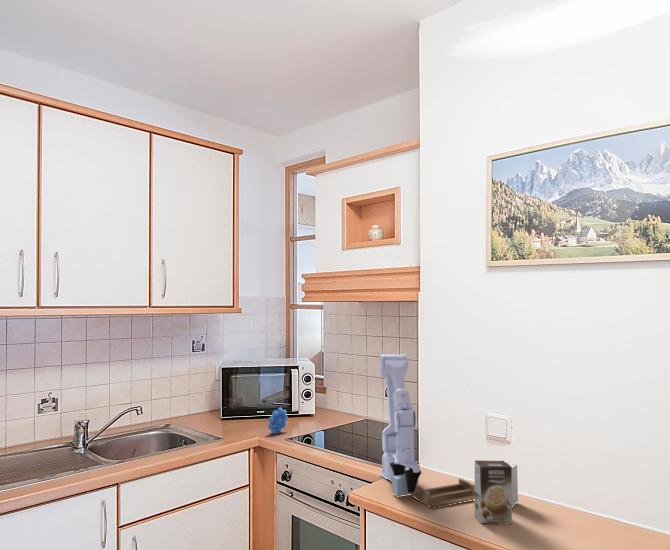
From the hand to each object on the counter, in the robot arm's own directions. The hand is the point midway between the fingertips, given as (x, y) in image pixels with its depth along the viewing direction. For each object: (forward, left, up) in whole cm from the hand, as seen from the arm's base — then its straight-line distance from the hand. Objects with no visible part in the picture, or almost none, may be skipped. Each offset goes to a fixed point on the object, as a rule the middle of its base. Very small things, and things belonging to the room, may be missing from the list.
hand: (405, 488), depth 168 cm
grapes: (-93, -15, -2) cm, 94 cm away
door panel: (0, 0, -2) cm, 2 cm away
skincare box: (+20, +25, -2) cm, 32 cm away
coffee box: (+27, +13, -2) cm, 30 cm away
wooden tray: (+8, +10, -2) cm, 13 cm away
